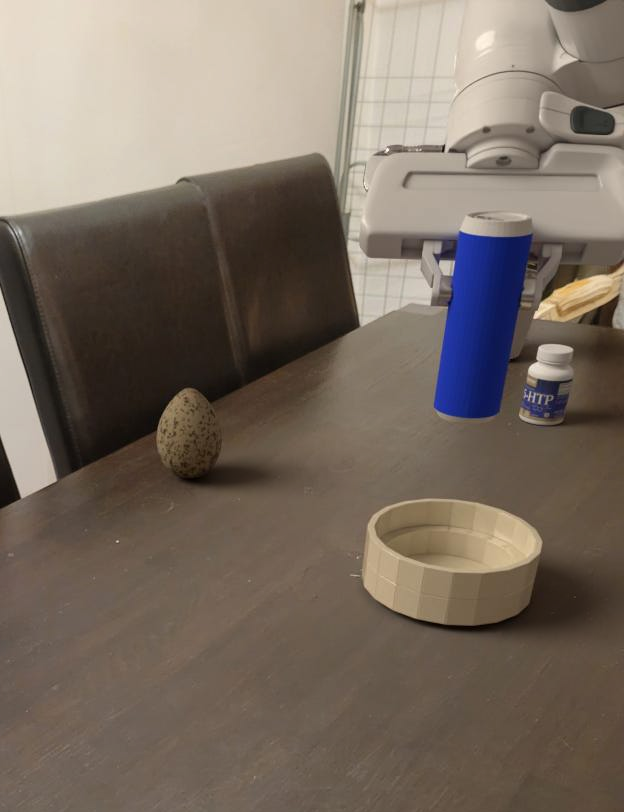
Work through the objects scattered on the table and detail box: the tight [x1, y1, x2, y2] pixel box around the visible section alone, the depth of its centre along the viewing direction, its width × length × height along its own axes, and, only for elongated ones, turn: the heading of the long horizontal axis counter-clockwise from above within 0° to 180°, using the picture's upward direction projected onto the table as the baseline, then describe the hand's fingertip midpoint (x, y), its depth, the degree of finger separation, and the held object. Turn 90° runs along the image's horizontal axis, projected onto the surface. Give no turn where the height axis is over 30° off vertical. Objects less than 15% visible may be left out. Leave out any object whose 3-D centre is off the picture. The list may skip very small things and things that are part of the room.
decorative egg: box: [156, 387, 223, 479], centre depth 104 cm, size 7×7×10 cm
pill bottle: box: [518, 343, 575, 426], centre depth 118 cm, size 5×5×9 cm
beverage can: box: [433, 211, 533, 425], centre depth 74 cm, size 5×5×15 cm
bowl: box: [361, 498, 544, 627], centre depth 83 cm, size 14×14×6 cm
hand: (484, 304), depth 73 cm, fingers closed on beverage can, 5 cm apart
